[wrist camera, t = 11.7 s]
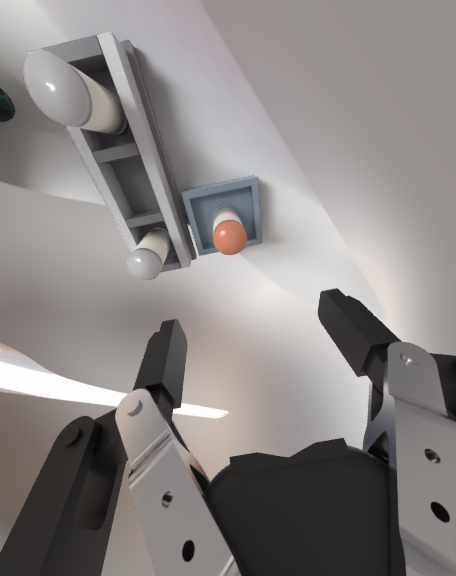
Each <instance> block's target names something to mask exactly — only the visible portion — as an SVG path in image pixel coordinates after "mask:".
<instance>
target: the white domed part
mask: <svg viewBox="0 0 456 576" xmlns="http://www.w3.org/2000/svg"><path fill="white" fill-rule="evenodd" d="M23 76H24V81H25V84H26V87H27V90H28V92H29V94H30V96H31V98H32V99H33V101H34V102H35V104H36V105H37V106H38V108H39V109H40V110H41V111H42V112H43V113H44V114H45V115H46V116H48V117H49V118H50V119H52V120H54V121H55V122H58V123H60V124H64V125H68V126H73V127H78V128H82V129H87V130H92V131H96V132H101V133H106V134H110V135H115V136H119V135H122V134H124V133H125V132H126V131H127V129H128V126H129V122H128V119H127V116H126V114H125V111H124V108H123V105H122V103H121V100H120V98H119V97H118V96H117V95H116V94H114V93H113V92H111V91H110V90H108V89H107V88H105V87H104V86H102V85H100V84H99V83H97V82H96V81H94V80H93V79H91V78H90V77H88V76H87V75H85V74H84V73H82V72H81V71H79V70H78V69H76V68H74V67H73V66H71V65H70V64H68V63H67V62H65V61H64V60H62V59H61V58H59V57H58V56H56V55H54V54H53V53H50V52H48V51H44V50H36V51H33V52H31V53H30V54H29V55H28V56H27V57H26V59H25V61H24V65H23Z"/></svg>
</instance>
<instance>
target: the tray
mask: <svg viewBox="0 0 456 576" xmlns="http://www.w3.org/2000/svg"><path fill="white" fill-rule="evenodd" d="M181 195H182V198H183V201H184V205H185V208H186V212H187V215H188V218H189V222H190V225H191V228H192V232H193V236H194V239H195V242H196V246H197V249H198V253H199V256H200V255H205V254H210V253H215V252H219V251H218V250H217V248H216V247H215V245H214V240H213V213H214V210H215V209H216V208H217V207H218V206H220V205H222V204H228V205H231V206H232V207H233V208H234V209H235V210H236V212H237V214H238V216H239V219H240V221H241V223H242V225H243V227H244V229H245V232H246V234H247V242H246V245H245V246H250V245H255V244H260V243H262V232H261V219H260V205H259V192H258V178H257V177H256V176H254V175H253V176H249V177H244V178H239V179H234V180H230V181H225V182H220V183H216V184H211V185H206V186H202V187H197V188H192V189H188V190H183V192H182V193H181Z"/></svg>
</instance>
